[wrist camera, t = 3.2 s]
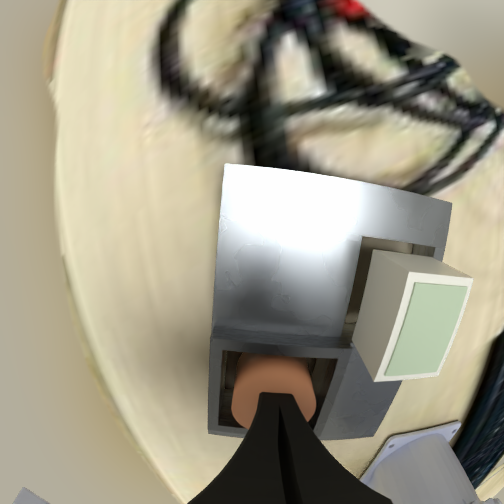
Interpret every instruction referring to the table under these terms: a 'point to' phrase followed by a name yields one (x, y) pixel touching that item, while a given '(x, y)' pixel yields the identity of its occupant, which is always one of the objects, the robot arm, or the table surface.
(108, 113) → the table surface
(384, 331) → the on key
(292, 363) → the button
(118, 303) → the table surface
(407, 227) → the panel
